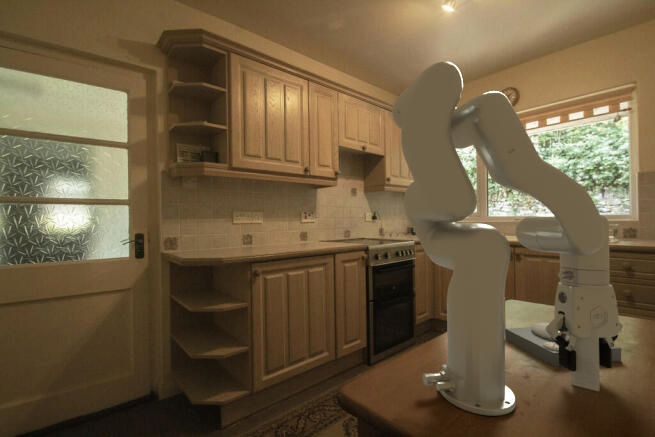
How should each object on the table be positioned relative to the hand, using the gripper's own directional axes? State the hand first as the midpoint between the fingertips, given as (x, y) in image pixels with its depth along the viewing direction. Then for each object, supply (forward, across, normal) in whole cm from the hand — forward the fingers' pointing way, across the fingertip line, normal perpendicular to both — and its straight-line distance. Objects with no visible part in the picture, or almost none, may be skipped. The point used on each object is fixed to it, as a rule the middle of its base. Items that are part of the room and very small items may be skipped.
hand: (584, 365), depth 60 cm
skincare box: (+3, 0, 0) cm, 3 cm away
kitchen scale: (+3, +8, +14) cm, 16 cm away
